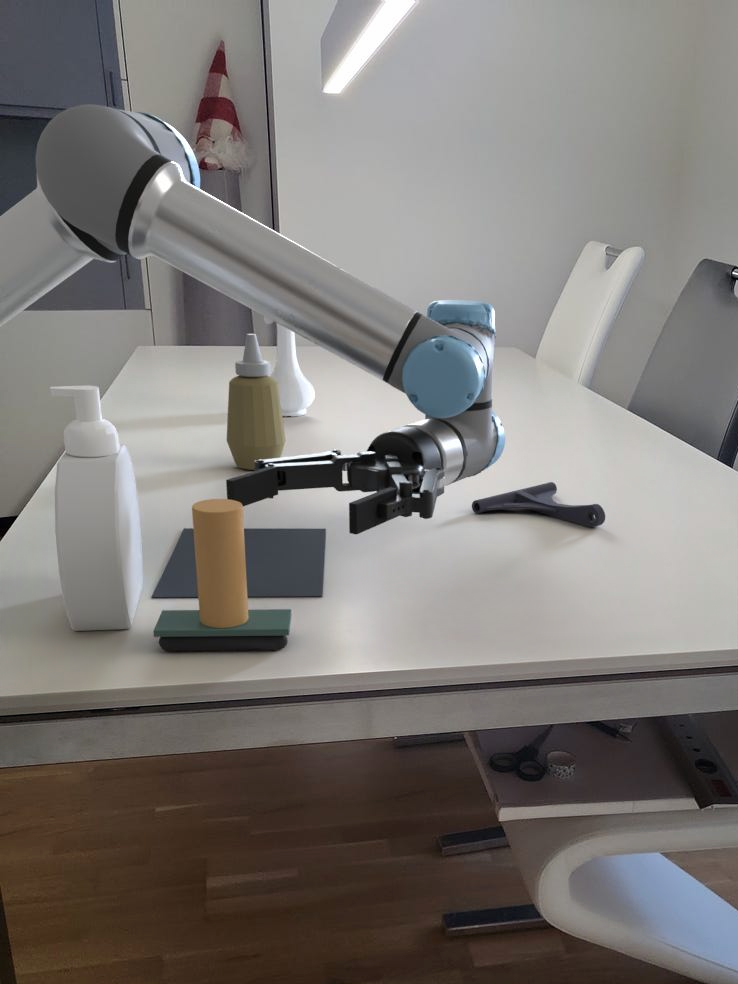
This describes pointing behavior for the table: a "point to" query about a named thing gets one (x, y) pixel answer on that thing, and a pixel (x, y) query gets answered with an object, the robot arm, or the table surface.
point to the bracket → (542, 505)
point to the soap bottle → (96, 520)
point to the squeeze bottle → (254, 410)
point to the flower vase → (290, 375)
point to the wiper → (221, 591)
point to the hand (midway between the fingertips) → (289, 506)
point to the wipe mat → (256, 564)
